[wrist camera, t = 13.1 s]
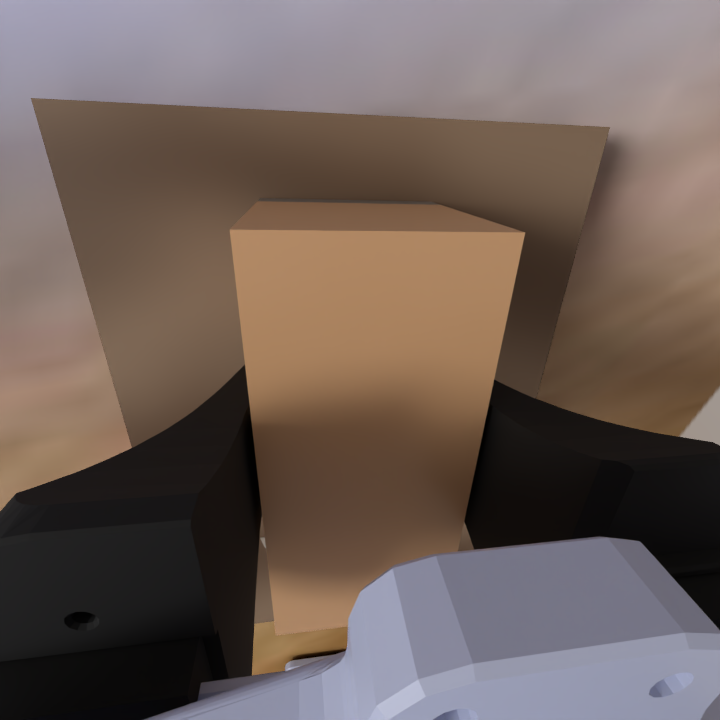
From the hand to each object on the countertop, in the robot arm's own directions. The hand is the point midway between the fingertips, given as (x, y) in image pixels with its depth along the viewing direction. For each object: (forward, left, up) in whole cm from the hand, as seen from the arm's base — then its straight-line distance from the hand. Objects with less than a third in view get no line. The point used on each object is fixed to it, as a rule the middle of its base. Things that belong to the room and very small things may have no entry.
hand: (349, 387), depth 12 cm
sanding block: (0, 0, -1) cm, 1 cm away
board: (-3, 0, -3) cm, 4 cm away
